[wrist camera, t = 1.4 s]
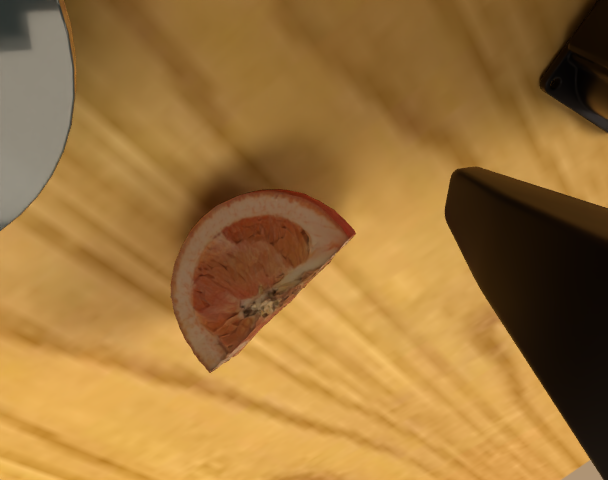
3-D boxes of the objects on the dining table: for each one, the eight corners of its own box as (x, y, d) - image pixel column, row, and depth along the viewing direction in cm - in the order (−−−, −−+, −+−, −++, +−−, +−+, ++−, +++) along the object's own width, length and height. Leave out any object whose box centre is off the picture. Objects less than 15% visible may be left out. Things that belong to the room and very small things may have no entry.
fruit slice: (240, 322, 29) (262, 399, 25) (128, 265, 25) (134, 345, 21) (357, 208, 27) (400, 272, 23) (254, 126, 23) (286, 186, 19)
